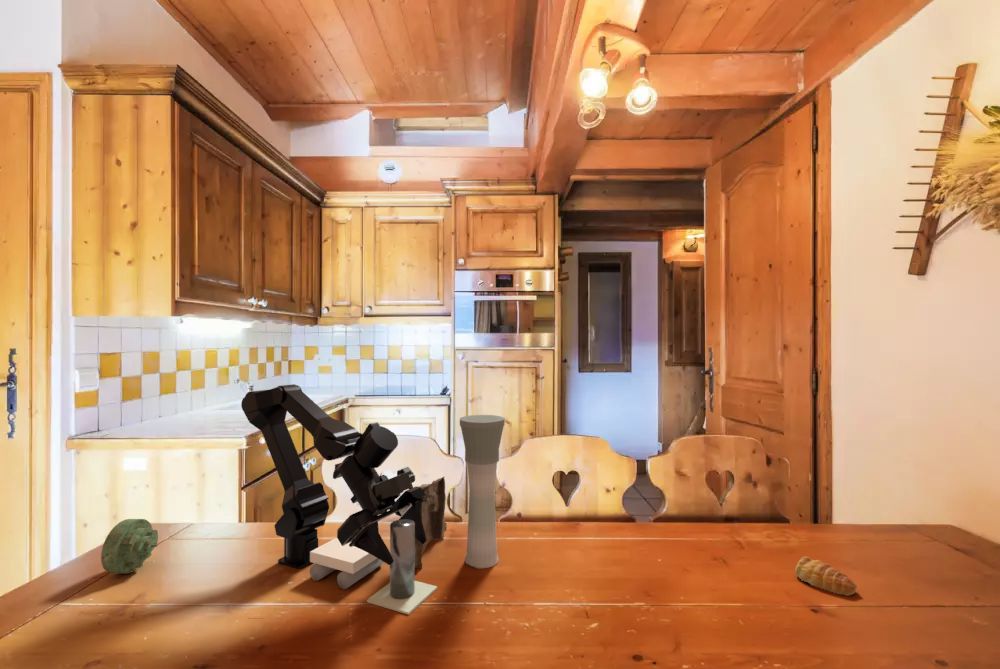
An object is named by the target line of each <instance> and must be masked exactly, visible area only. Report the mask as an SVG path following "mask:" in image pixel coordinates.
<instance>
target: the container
mask: <svg viewBox="0 0 1000 669" xmlns="http://www.w3.org/2000/svg"><path fill="white" fill-rule="evenodd" d="M459 426H460V429H461V433H462V434H461V435H462V440H463V444H464V449H465V452H464V462H465V463H466V464H467V476H468V478H467V479H468V487H469V488H468V489H469V492H468V495H469V496H468V497H469V498H468V520H467V521H468V522H467V540H466V554H465V555H466V556H465V557H464V561H465V562H464V563H465V564H466V565H467V566H468V567H470V568H474V569H489V568H492V567H494V566H497V564H498V563H499V555H498V544H497V543H498V542H497V524H496V523H497V522H496V492H495V490H496V489H495V488H496V480H497V479H496V478H497V469H498V468H497V467H498V462H499V461H500V445H501V440H502V437H503V436H502V435H503V430H504V426H505V417H503V416H500V415H495V414H494V415H493V414H472V415H466V416H465V415H464V416H461V417H460V418H459Z"/></svg>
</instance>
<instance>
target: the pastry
mask: <svg viewBox="0 0 1000 669" xmlns="http://www.w3.org/2000/svg"><path fill="white" fill-rule="evenodd" d="M794 574H795V576H797V577H798V579H799V580H800V579H801V580H800V581H802V582H803V581H804V582H803V583H805V582H806V583H808V584H809V585H810V586H813V587H814V586H815V587H814V588H817V587H818V588H817V589H821V590H823V589H824V590H823V591H826V590H827V591H826V592H829V591H830V592H829V593H832V592H833V594H835V593H836V595H843V596H846V597H847V596H852V595H853V594H855V593H856V590H857V588H858V587H857V586H858V585H857V584H856V582H854V581H853V580H852V579H851V578H849V576H848V575H846V574H845V573H843V572H841V570H840V569H837V568H834V567H833V566H832V565H831V564H830V563H827V562H826V563H824V561H822V560H820V559H812V558H811V557H810V556H806V555H805V556H802V557H801V558H800V560H799V561H798V562H797V564H796V566H795V571H794Z"/></svg>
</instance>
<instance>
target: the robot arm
mask: <svg viewBox="0 0 1000 669" xmlns="http://www.w3.org/2000/svg"><path fill="white" fill-rule="evenodd" d="M240 405H241V409H242V412H243V413H244V415H245V417H246V419H247V421H248V422H249V424H251V425H253V426H254V427H255V428H256V429H258V430H259V431H260V432H261V433H262V435H263V439H264V441H265V443H266V444H265V445H266V446H267V449H268V452H269V455H270V457H271V459H272V461H273V463H274V464H273V465H274V467H275V470H276V471H277V472H276V473H277V475H278V477H279V480H280V482H281V484H282V487H283V489H284V495H283V497H282V498H283V499H282V503H281V509H282V512H283V514H282V515H281V516H280V518H279V519H278V520H277V521H276V523H275V524H274V531H275V535H276V536H278V537H280V538H283V542H284V544H283V550H284V551H283V556H282V557H281V558H278V559H277V563H279V564H282V565H285V566H288V567H293V568H295V569H301V568H304V567H305V566H307V565H308V564H310V563H312V562H310V551H312V550H314V549H316V548H318V547H319V537H318V529H317V528H320V527H323V526H325V523H326V520H327V516H328V514H329V509H330V503H329V501H328V500H329V499H330V498H329V496H328V495H327V494H326V492H325V488H324V485H323V484H322V483H321V482H320V481H318V482H316V483H314V482H313V481H312V480H310V479H309V478H308V475H307V473H306V470H305V467H304V464H303V463H302V461H301V458H300V456H299V453H298V450H297V448H296V445H295V444H294V440H293V438H292V436H291V433H290V430H289V429H288V426H287V424H286V417H287V413H289V414H290V416H292V418H294V420H296V421H297V422H298V423H299V424H300V425H301V427H303V428H304V429H305V430H306V431H307V432H308V433H309V434H310V435H311V436H312V438H313V440H312V441H313V446H314V448H315V449H316V450H317V451H318V452H317V453H319V455H320V456H321V457H322V458H323V459H324V460H326V461H334V460H338V459H341V458H344V459H343V461H342V462H339V463H335V464H334V470H333V473H332V479H334V480H336V479H338V478H342V479H343V480H344V482H345V483H346V485H347V487H348V489H349V490H350V492H351V493H352V495H353V496H351V498H350V501H351V503H352V504H355V503H358V505H359V506H360V508H361V510H359V511H357V512H355V513H351V514H349V516H348V517H347V518H346V520H345V521H343V523H342V524H341V525H340V526H339V528H337V531H336V535H337V536H336V538H338V540H339V542H340V543H341V545H342V546H344V545H346V544H348V543H350V542H351V543H350V544H349V546H350V547H352V546H355V547H357V548H359V549H361V550H363V551H366V552H368V553H369V554H371V555H373V556H375V557H376V558H378V559H380V560H381V561H383V563H384V564H387V565H388V566H390V565H391V564H392V563H393V562H394V560H393V558H392V556H391V553H390V549H389V548H388V547H387V544H386V543H385V541H384V539H383V538H382V536H381V535H380V533H379V521H381V520H383V519H385V518H387V517H390V516H392V515H394V514H395V515H396V516H398V517H400V518H399V519H398V520H401V519H408V520H412V521H414V522H415V538H416V539H417V540H418V541H419V542H421V543H422V544H424V543H425V542H426V541H427V539H426V535H425V531H424V527H423V523H422V519H421V513H420V510H421V504H422V503H423V502H424V499H423V498H424V497H425V496H426V494H425V493H424V491H423V490H422V488H421V487H418V486H413V484H412V483H414V482H415V481H416V475H415V474H414V472H413V470H412V469H411V468H410V467H409V466H407V467H403V468H401V469H399V470H397V471H396V476H393V477H391V478H388V476H387V475H385V474H382V475H380V474H379V473H378V472H377V470H376V469H377V468H379V467H381V466H382V464H384V462H385V461H386V460H387V459H388V458H389V456H391V454H392V453H393V452H394V451H395V450H396V449H397V447H398V445H399V440H398V438H397V435H396V434H395V433H394V432H393V431H391V430H390V429H389V428H387V427H385V426H381V425H380V424H379V422H377V421H376V422H371V423H369V424H368V425H367V426H366V428H365V429H364V431H363V432H359V431H358V430H357V428H355V427H353V426H352V425H350V424H349V423H347V422H346V421H343V420H338V419H335V418H333V417H331V416H330V415H329V414H327V412H326V411H325V410H324V409H322V408H321V407H320V406H319V405H318V404H317V403H316V402H315V401H314V400H312V399H311V398H310V397H309V396H308V395H307V394H305V393H304V391H303V390H302V387H301V386H300V385H297V384H295V383H294V384H284V385H283V384H282V385H278V386H276V387H273V388H270V389H264V390H263V389H261V390H253V391H251V390H250V391H248V392H246V393H245V395H244V397H243V398H242V400H241V404H240Z"/></svg>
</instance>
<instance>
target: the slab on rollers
mask: <svg viewBox="0 0 1000 669" xmlns="http://www.w3.org/2000/svg"><path fill="white" fill-rule="evenodd" d="M350 543H351V542H350ZM350 543H348V544H346V545H344V546H342V545H341V543H340V542H339V540H338V538H337V537H335V538H333V539H331V540H329V541H328V542H326V543H324V544H322V545H320V546H318V548H316V549H314V550H312V551H310V562H311V563H312V565H311V566H310V568H309V575H310V577H311V579H312V580H313V581H315V582H317V581H320V580H322V579H323V578H325V577H326V576H328V575H330V574H331V573H333V572H335V571H338V570H339V571H341V572H339V573H338V575H337V577H336V582H337V584H338V587H339V588H341V589H342V590H347V589H348V588H349V587H351V586H352V585H354V584H355V583H357V582H358V581H360V580H362V579H363V578H364V577H366V576H367V575H369V574H370V573H372V572H374V571H375V570H377V568H379V567H380V566H382V565H383V564H384V562H383V561H381V560H380V559H378V558H376V557H375V556H373V555H371V554H369V553H368V552H366V551H363V550H361V549H359V548H357V547H355V546H352V547H350V546H349V544H350Z"/></svg>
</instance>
